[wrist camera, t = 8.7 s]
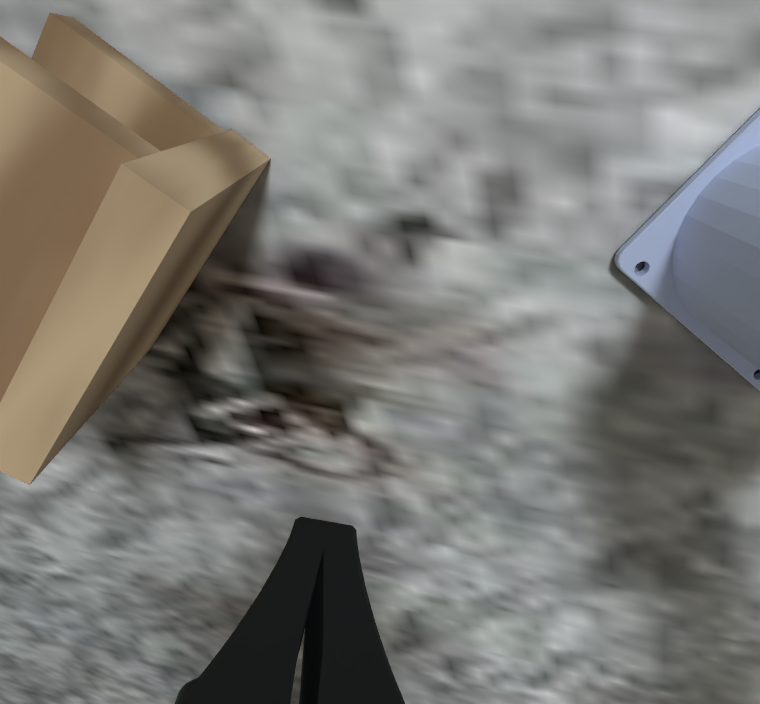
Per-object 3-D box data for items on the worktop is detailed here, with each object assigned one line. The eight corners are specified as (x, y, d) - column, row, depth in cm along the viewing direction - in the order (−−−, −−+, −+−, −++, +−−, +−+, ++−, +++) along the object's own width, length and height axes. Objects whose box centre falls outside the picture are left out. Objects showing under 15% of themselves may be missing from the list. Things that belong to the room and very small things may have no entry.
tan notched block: (87, 20, 16) (270, 158, 18) (-11, 250, 19) (151, 347, 21) (-156, -28, 9) (190, 211, 11) (-245, 350, 12) (29, 485, 14)
